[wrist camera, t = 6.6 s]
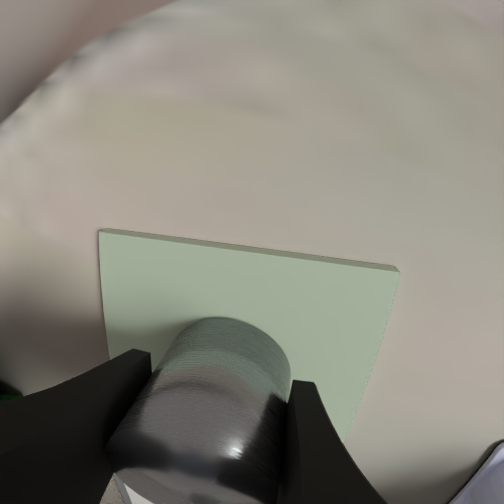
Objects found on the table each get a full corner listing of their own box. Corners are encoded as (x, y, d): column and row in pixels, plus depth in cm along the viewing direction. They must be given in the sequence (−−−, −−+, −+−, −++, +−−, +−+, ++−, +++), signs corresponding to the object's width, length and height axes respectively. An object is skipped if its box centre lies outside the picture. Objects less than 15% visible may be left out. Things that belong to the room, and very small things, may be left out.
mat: (394, 266, 10) (400, 272, 9) (340, 438, 12) (341, 447, 11) (107, 228, 11) (98, 232, 10) (123, 397, 13) (118, 405, 12)
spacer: (302, 331, 10) (295, 459, 5) (279, 422, 11) (263, 531, 7) (169, 306, 10) (89, 405, 6) (171, 399, 12) (121, 494, 7)
